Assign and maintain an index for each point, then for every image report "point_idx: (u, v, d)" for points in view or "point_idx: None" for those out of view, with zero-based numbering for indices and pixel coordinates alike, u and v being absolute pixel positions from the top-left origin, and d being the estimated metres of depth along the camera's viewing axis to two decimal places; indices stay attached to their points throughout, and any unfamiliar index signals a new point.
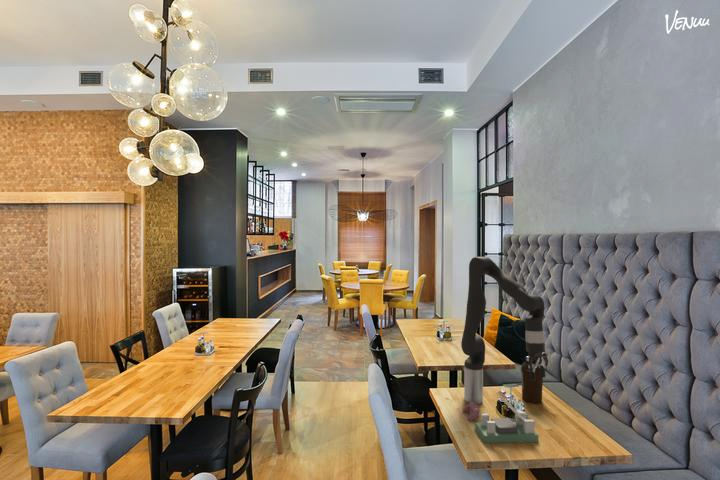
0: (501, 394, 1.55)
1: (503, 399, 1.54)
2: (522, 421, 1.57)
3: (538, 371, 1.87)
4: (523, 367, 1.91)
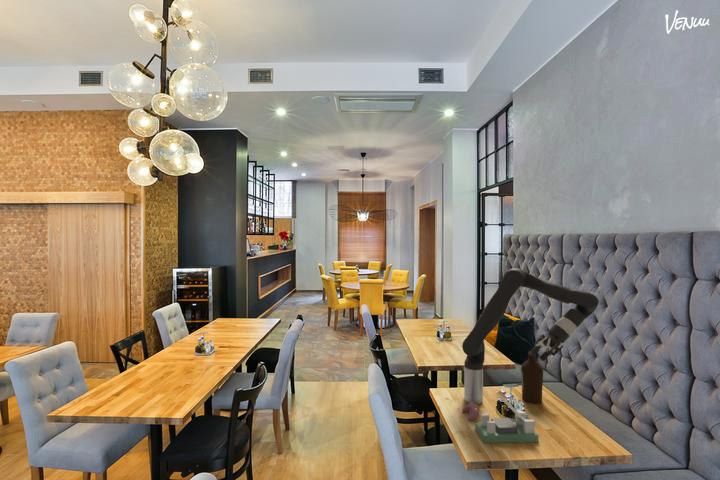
0: (501, 394, 1.55)
1: (503, 399, 1.54)
2: (522, 421, 1.57)
3: (538, 371, 1.87)
4: (523, 367, 1.91)
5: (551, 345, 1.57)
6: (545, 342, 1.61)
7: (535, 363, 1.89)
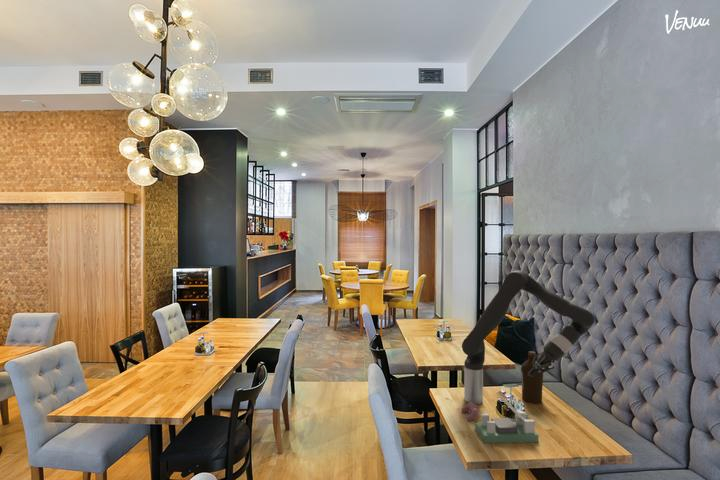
0: (501, 394, 1.55)
1: (503, 399, 1.54)
2: (522, 421, 1.57)
3: None
4: (523, 367, 1.91)
5: None
6: None
7: None
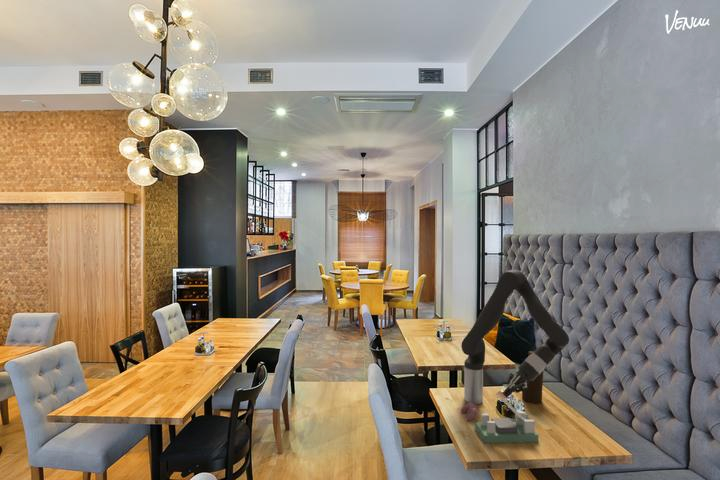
0: (501, 394, 1.55)
1: (503, 399, 1.54)
2: (522, 421, 1.57)
3: None
4: None
5: None
6: None
7: None
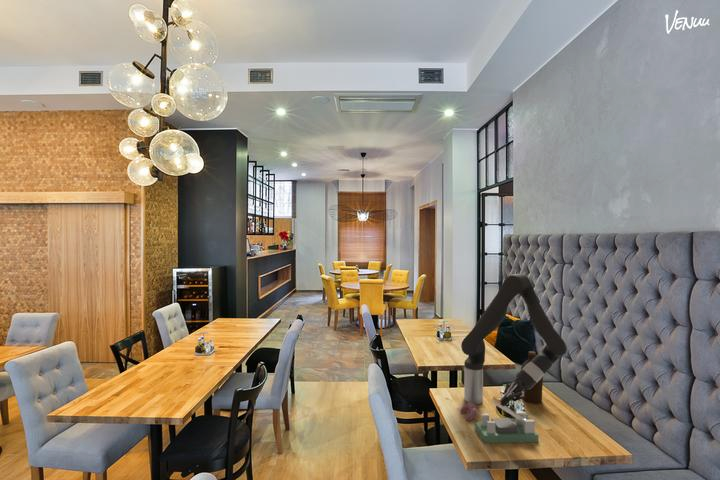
0: (496, 400, 1.55)
1: (498, 405, 1.54)
2: None
3: None
4: None
5: None
6: None
7: None
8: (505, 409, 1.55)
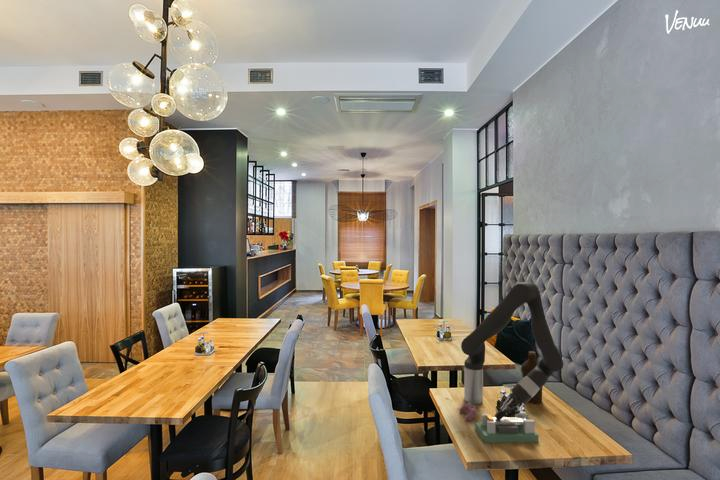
0: (489, 419, 1.55)
1: None
2: None
3: None
4: (523, 367, 1.91)
5: None
6: None
7: (535, 363, 1.89)
8: (501, 423, 1.54)
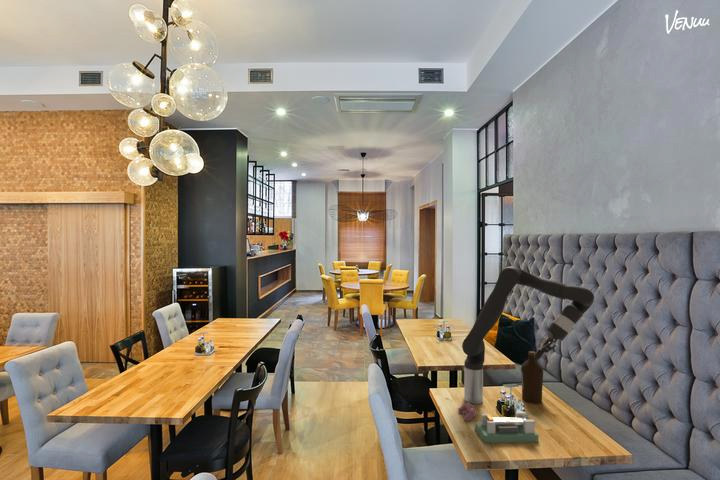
0: (489, 420, 1.55)
1: None
2: None
3: (538, 371, 1.87)
4: (523, 367, 1.91)
5: (547, 343, 1.60)
6: None
7: (535, 363, 1.89)
8: (501, 423, 1.54)
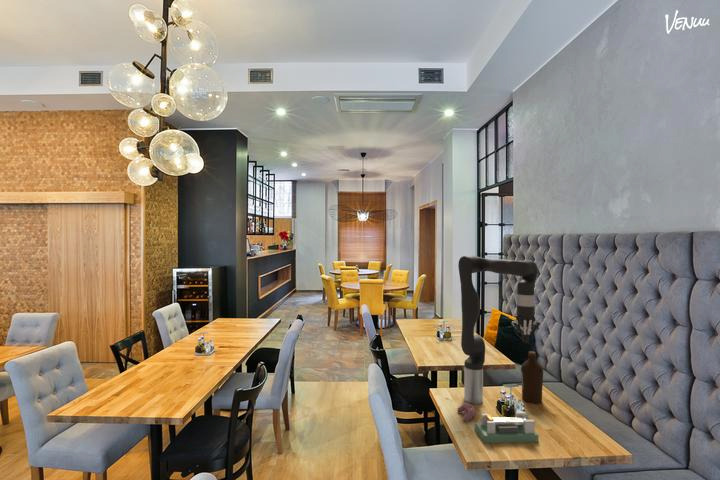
0: (489, 420, 1.55)
1: None
2: None
3: (538, 371, 1.87)
4: (523, 367, 1.91)
5: None
6: None
7: (535, 363, 1.89)
8: (501, 423, 1.54)
